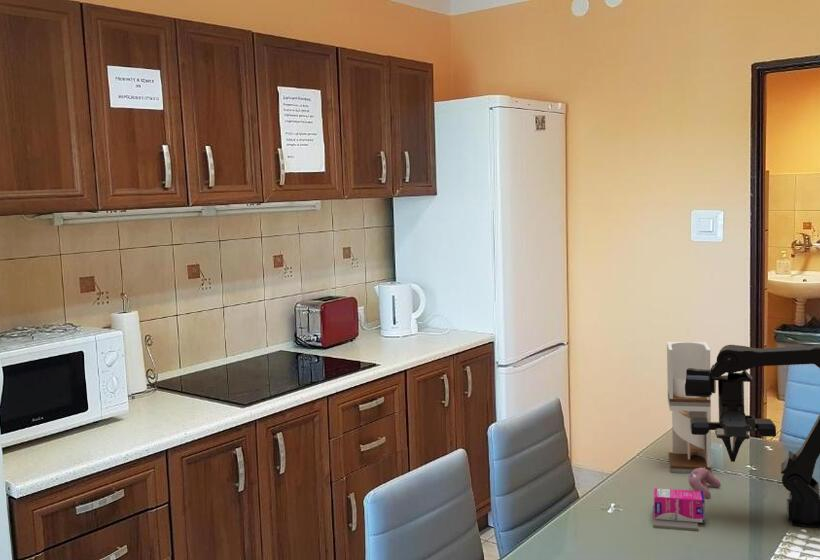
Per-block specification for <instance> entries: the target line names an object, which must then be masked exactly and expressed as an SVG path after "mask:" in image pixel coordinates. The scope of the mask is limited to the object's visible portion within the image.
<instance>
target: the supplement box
mask: <svg viewBox="0 0 820 560" xmlns="http://www.w3.org/2000/svg"><path fill="white" fill-rule="evenodd" d="M705 499H706V498H704V492H703V491H695V490H689V489H688V490H686V489H671V488H653V505H654V514H655V519H660V520H674V521H688V522H698V523H701V524H702V523H703V524H705V523H706V518H705V517H706V511H705V510H706V509H705V508H706V507H705V502H706V501H705Z"/></svg>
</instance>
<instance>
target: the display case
mask: <svg viewBox="0 0 820 560" xmlns="http://www.w3.org/2000/svg"><path fill="white" fill-rule="evenodd" d="M666 363H667V365H666V366H667V368H666V371H667V372H666V373H667V402H668V403H667V404H668V409H669V412H671V425H672V426H671V427H672V428H671V429H672V430H671V431H672V436H671V437H672V439H671V440H672V452H670V451H669V452H668V464H670V465H669V468H670V469H669V470H670V473H672V472H673V473H675V474H691V472H692V471H693V470H694V469H696V468H704V467H705V469H707V470H708V471H709V472H710V473H711V474H712V430H709V432H708V433H707V434H706V435H694V434H692V433H691V429H690V420H691V418H707V420H708V422H712V416H711V415H712V411H711V410H712V409H711V408H712V407H711V406H712V405H711V404H712V403H711V399H712V398H711V397H712V396H711V397H695V396H686V394H685V383H686V370H687V369H688V368H694V369H704V370H711V348H710V347H709V345H708V343H707V342H706V341H667V342H666Z"/></svg>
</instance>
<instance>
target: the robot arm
mask: <svg viewBox="0 0 820 560" xmlns="http://www.w3.org/2000/svg"><path fill="white" fill-rule="evenodd" d="M794 365H795V366H797V365H815V366H816V367H817V368H819V369H820V344H813V345H803V346H801V345H800V346H784V347H782V346H781V347H765V348H758V347H751V346H745V345H738V344H737V345H736V344H726V345H724V346H722V347H721V349H720V350H719V352H718V354H717V356H716V362H714V364H712V366H710V370H704V369H694V368H688V369H687V370H686V383H685V394H686V396H695V397H712V395H713V394H716V392H718V421H711V422H708V420H707V418H691V420H690V429H691V433H692V434H694V435H706V434H707V433H708V432H709V430H711V431H714V434H715V437H716V438H717V439H721V440H722V442H723V444H724V446H725V449H726V452H727V454H728V457H729V460H730V462H731V463H735V461H736V459H737V456H738V453H739V451H740V448H741V446H742V445H743V443H744V442H745V440H749V439H750V438H751V436H750V434H749V433H750V432H757V433H758V435H760V436H761V437H777V428H776V424H775V423H774V421H773V420H772V419H770V418H756V417H755V415H748V414H747V415H746V413H745V382H747V383H749V382H752V381H753V376H752V374H749V372H747V370H751V369H754V368H759V367H772V366H794ZM726 373H727V375H725V374H726ZM716 381H717V382H716ZM717 384H718V385H717ZM716 389H717V390H718V391H717V390H716ZM731 438H732V442H731ZM819 457H820V414H818V416H817V419H816V420H815V422H814V423H813V426H812V427H811V429H810V431H809V433H808V435H807V437H806V438H805V440H804V442H803V444H802V445H801V447H800V448H799V449H798V450H797V451H796V452H795V453H794V452H793V451H790V450H789V451H788V453H787V456H786V458H785V460H784V461H783V462H782V463H781V465H780V466H781V467H780V474H781V483H782V486H783V487H784V488H785V489H786V490H787V491H788V492H789V493H788V498H787V499H786V516H787V519H788V520H789V521H790V524H791V526H795V527H808V528H809V527H810V528H820V483H819V482H818V480H816V479H815V478H814V477H813V474H814V471H815V467H816V465H817V464H816V463H817V461H818V459H819Z"/></svg>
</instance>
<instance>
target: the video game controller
mask: <svg viewBox="0 0 820 560" xmlns="http://www.w3.org/2000/svg"><path fill="white" fill-rule="evenodd" d="M687 480H688V484H689V486H690V487H691V489H692V490H693V491H703V492H704V499H710V498H711V492H710V491H709V489H708V486H709V485H710V486H711V487H712V488H715V489H719V488H720V487H721V486H722V484H721V482H720V480H719V479H718V478H717V477H716V476H715V475H713V474H712V472H711V473H710V472H709V471H708V470H707V469H705V467H704V468H696V469H694V470H693V471H692V472H691V473H690V475H689V476H688V478H687Z"/></svg>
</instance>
